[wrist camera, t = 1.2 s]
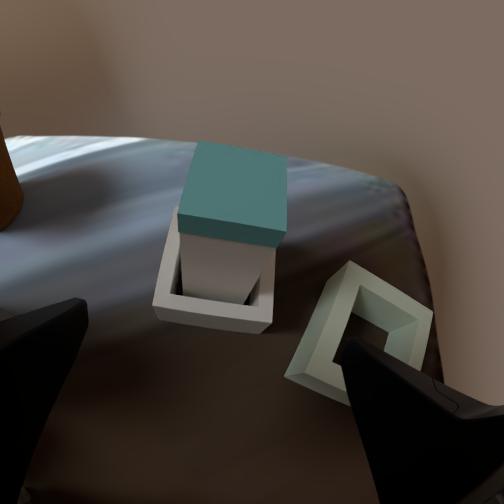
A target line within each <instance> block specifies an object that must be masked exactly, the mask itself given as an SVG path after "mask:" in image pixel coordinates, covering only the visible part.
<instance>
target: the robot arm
mask: <svg viewBox="0 0 504 504" xmlns="http://www.w3.org/2000/svg"><path fill="white" fill-rule="evenodd" d="M88 323H89V321H88V309H87V302H86V301H85V300H84V299H80V298H72V299H69V300H66V301H62V302H59V303H56V304H53V305H50V306H47V307H43V308H40V309H37V310H34V311H31V312H28V313H25V314H21V315H18V316H15V317H12V318H9V319H6V320H3V321H0V504H17V503H18V499H19V496H20V492H21V489H22V486H23V483H24V479H25V476H26V473H27V470H28V468H29V465H30V461H31V459H32V456H33V453H34V450H35V448H36V445H37V443H38V440H39V438H40V435H41V433H42V430H43V428H44V425H45V423H46V421H47V418H48V416H49V414H50V412H51V409H52V407H53V405H54V403H55V400H56V398H57V396H58V394H59V392H60V390H61V388H62V386H63V384H64V382H65V379H66V377H67V375H68V373H69V371H70V369H71V368H72V365H73V363H74V361H75V359H76V356H77V354H78V351H79V348H80V346H81V343H82V341H83V338H84V336H85V333H86V331H87V328H88ZM340 364H341V369H342V373H343V378H344V382H345V387H346V392H347V396H348V399H349V402H350V405H351V408H352V411H353V414H354V417H355V421H356V424H357V427H358V430H359V433H360V436H361V439H362V443H363V446H364V449H365V452H366V456H367V459H368V462H369V466H370V469H371V472H372V476H373V479H374V483H375V486H376V490H377V493H378V494H379V495H378V498H379V501H380V504H504V405H502V406H492V405H487V404H485V403H483V402H480V401H478V400H476V399H473V398H471V397H469V396H467V395H465V394H463V393H460V392H458V391H456V390H454V389H452V388H450V387H448V386H446V385H444V384H442V383H441V382H439V381H437V380H435V379H432V378H431V377H429V376H428V375H426V374H424V373H422V372H420V371H419V370H417V369H415V368H413V367H411V366H410V365H408V364H406V363H404V362H402V361H401V360H399V359H397V358H395V357H393V356H392V355H390V354H388V353H386V352H385V351H383V350H381V349H379V348H378V347H376V346H374V345H372V344H370V343H369V342H367V341H365V340H363V339H362V338H360V337H349V338H348V339H347V341H346V344H345V346H344V348H343V351H342V353H341V356H340Z"/></svg>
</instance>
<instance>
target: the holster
mask: <svg viewBox="0 0 504 504" xmlns="http://www.w3.org/2000/svg"><path fill="white" fill-rule="evenodd" d="M178 208H179V206H175V210H174V214H173V217H172V221H171V225H170V229H169V233H168V237H167V241H166V245H165V249H164V253H163V257H162V262H161V266H160V271H159V275H158V280H157V284H156V289H155V294H154V299H153V304H152V306H153V308H154V310H155V313H156V315H157V317H158V319H159V320H163V321H169V322H175V323H180V324H187V325H193V326H199V327H206V328H213V329H220V330H228V331H235V332H244V333H252V334H260V333H261V332H262V331H263V330H265V329H266V328H267V327H268V326H269V325H270V324H271V323H272V316H273V297H274V277H275V255H276V248H275V250H274V251H273V253H272V255H271V257H270V258H269V260H268V262H267V264H266V265H265V267H264V269H263V271H262V272H261V274H260V276H259V278H258V279H257V281H256V283H255V285H254V286H253V288H252V290H251V292H250V300H249V306H247V305H240V304H233V303H226V302H219V301H212V300H205V299H199V298H193V297H186V296H180V295H176V291H177V285H178V280H179V275H180V269H181V256H180V236H179V232H178V220H177V212H178Z"/></svg>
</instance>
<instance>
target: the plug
mask: <svg viewBox="0 0 504 504" xmlns="http://www.w3.org/2000/svg"><path fill="white" fill-rule="evenodd" d="M177 220H178V232H179V236H180V256H181V272H182V286H183V296H186V297H193V298H199V299H205V300H212V301H219V302H226V303H233V304H240V305H243V304H244V302H245V300H246V299H247V297H248V295H249V293H250V292H251V290H252V288H253V286H254V285H255V283H256V281H257V279H258V278H259V276H260V274H261V272H262V271H263V269H264V267H265V265H266V264H267V262H268V260H269V258H270V257H271V255H272V253H273V251H274V250H275V248H277V247H278V245H279V244H280V242H281V240H282V239H283V237H284V235H285V233H286V231H287V157H285V156H281V155H276V154H271V153H267V152H262V151H257V150H252V149H246V148H241V147H235V146H230V145H224V144H218V143H210V142H204V141H198V143H197V146H196V150H195V153H194V156H193V159H192V163H191V166H190V169H189V173H188V176H187V180H186V183H185V187H184V190H183V194H182V197H181V201H180V205H179V208H178V212H177Z"/></svg>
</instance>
